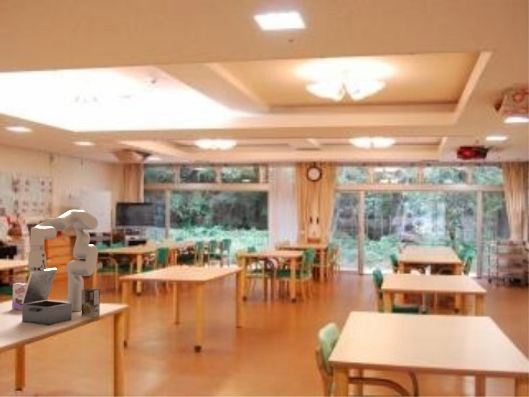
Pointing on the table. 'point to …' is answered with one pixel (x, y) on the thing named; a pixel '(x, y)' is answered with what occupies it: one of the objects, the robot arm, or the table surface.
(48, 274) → the lid
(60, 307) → the grey storage box
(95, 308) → the coffee box
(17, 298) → the candy box
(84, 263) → the robot arm
